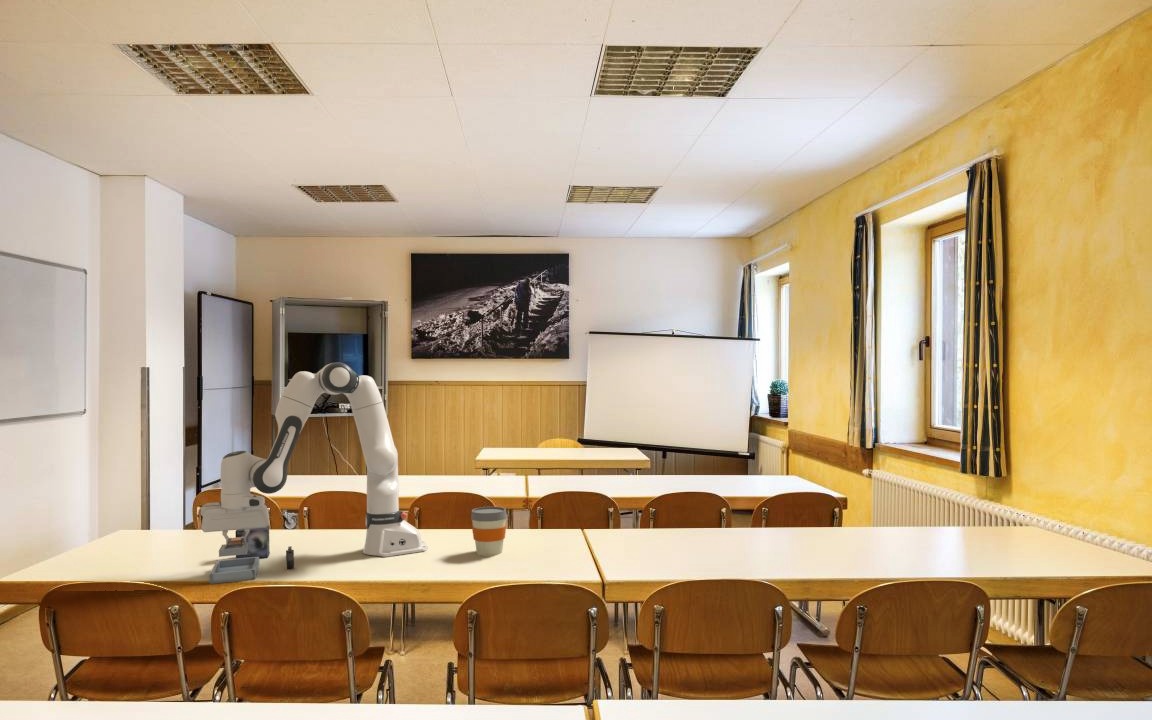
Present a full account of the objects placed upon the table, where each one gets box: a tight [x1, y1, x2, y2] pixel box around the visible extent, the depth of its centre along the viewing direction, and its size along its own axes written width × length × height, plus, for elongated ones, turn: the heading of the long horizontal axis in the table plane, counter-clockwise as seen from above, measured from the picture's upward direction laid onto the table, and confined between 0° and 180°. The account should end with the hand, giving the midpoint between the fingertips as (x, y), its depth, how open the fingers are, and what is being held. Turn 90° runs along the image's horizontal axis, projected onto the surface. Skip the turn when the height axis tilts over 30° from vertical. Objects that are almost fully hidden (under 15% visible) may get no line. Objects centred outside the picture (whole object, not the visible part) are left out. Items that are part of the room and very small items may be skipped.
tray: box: [209, 557, 260, 585], centre depth 243 cm, size 13×18×3 cm
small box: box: [234, 524, 271, 560], centre depth 264 cm, size 11×6×10 cm, turn 105°
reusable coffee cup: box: [470, 506, 508, 557], centre depth 265 cm, size 13×13×15 cm
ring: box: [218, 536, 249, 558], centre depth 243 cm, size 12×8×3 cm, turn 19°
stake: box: [285, 546, 295, 571], centre depth 248 cm, size 2×3×7 cm
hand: (236, 543), depth 247 cm, fingers closed on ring, 3 cm apart
